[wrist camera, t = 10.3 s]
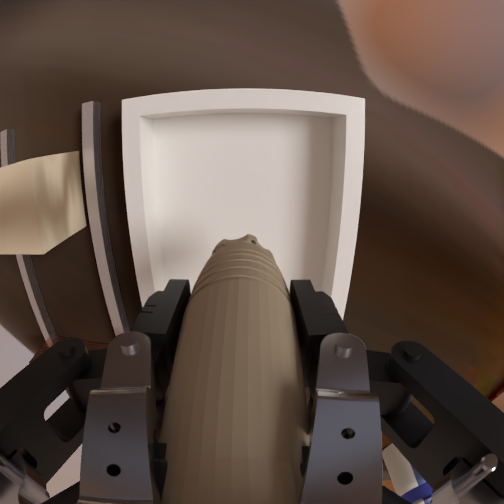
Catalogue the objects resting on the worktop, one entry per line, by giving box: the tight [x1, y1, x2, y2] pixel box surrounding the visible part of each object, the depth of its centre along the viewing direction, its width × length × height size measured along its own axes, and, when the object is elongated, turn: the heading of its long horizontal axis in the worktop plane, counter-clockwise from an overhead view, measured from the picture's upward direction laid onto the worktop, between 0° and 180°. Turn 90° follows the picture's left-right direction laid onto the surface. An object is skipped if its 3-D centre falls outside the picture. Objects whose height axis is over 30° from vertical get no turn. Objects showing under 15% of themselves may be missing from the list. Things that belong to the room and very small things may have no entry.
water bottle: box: [382, 443, 433, 504], centre depth 23 cm, size 8×9×25 cm
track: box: [1, 101, 130, 363], centre depth 18 cm, size 24×11×5 cm, turn 0°
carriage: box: [0, 151, 87, 254], centre depth 16 cm, size 6×7×6 cm
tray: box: [122, 89, 365, 320], centre depth 19 cm, size 18×14×3 cm
